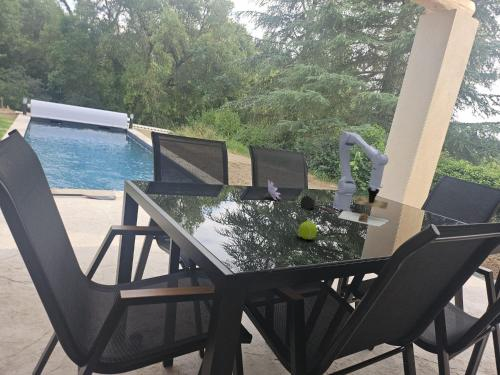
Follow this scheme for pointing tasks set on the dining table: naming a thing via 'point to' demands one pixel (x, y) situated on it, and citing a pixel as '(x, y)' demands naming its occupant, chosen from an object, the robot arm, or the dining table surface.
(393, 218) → the dining table surface
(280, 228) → the dining table surface
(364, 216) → the ridge
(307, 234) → the tennis ball
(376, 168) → the robot arm
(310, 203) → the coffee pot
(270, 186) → the water lily
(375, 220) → the slab
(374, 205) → the rod
